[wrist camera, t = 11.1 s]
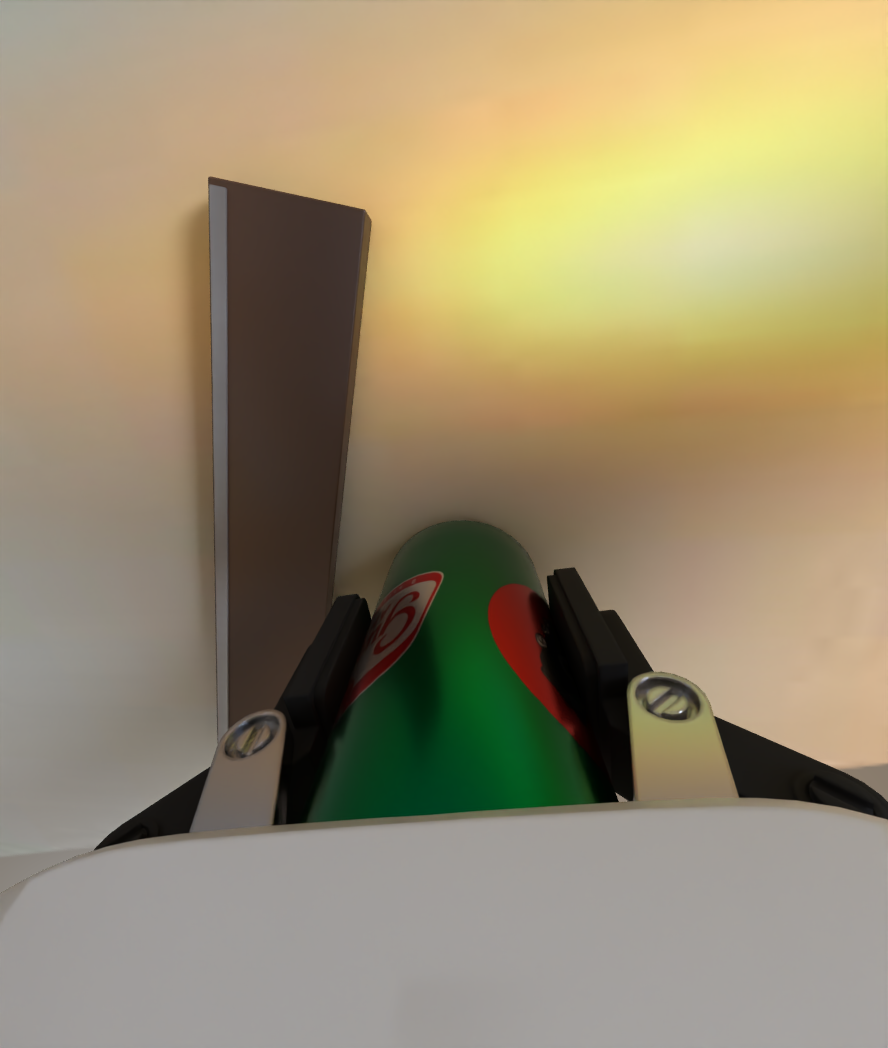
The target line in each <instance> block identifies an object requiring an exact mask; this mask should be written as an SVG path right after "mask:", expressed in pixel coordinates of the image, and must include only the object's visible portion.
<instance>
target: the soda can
mask: <svg viewBox="0 0 888 1048" xmlns="http://www.w3.org/2000/svg"><path fill="white" fill-rule="evenodd" d="M613 802H619V801H618V799H617V796H616V793H615V790H614V787H613V785H612V782H611V779H610V776H609V774H608V771H607V768H606V765H605V762H604V760H603V757H602V754H601V751H600V748H599V746H598V743H597V740H596V737H595V735H594V732H593V729H592V726H591V723H590V721H589V718H588V715H587V712H586V709H585V707H584V704H583V701H582V698H581V696H580V693H579V690H578V687H577V684H576V682H575V679H574V676H573V673H572V670H571V668H570V665H569V662H568V659H567V657H566V654H565V651H564V648H563V645H562V643H561V640H560V637H559V634H558V631H557V629H556V626H555V623H554V620H553V618H552V615H551V612H550V609H549V606H548V604H547V601H546V598H545V595H544V592H543V590H542V587H541V584H540V581H539V578H538V576H537V573H536V570H535V567H534V565H533V562H532V560H531V559H530V557H529V555H528V553H527V552H526V551H525V549H524V548H523V547H522V546H521V544H520V543H518V542H517V541H516V540H515V539H514V538H513V537H512V536H510V535H509V534H507V533H505V532H504V531H502V530H500V529H498V528H496V527H493V526H491V525H488V524H484V523H481V522H476V521H466V520H461V521H449V522H444V523H439V524H437V525H434V526H431V527H428V528H426V529H424V530H423V531H421V532H419V533H417V534H416V535H415V536H413V537H412V538H411V539H409V540H408V541H407V542H406V543H405V545H404V546H403V547H402V548H401V549H400V550H399V552H398V554H397V555H396V557H395V558H394V561H393V563H392V565H391V567H390V570H389V573H388V576H387V579H386V581H385V584H384V587H383V590H382V592H381V595H380V598H379V601H378V603H377V606H376V609H375V612H374V614H373V617H372V620H371V623H370V625H369V628H368V631H367V634H366V637H365V639H364V642H363V645H362V648H361V650H360V653H359V656H358V659H357V661H356V664H355V667H354V670H353V672H352V675H351V678H350V681H349V683H348V686H347V689H346V692H345V695H344V697H343V700H342V703H341V706H340V708H339V711H338V714H337V717H336V719H335V722H334V725H333V728H332V730H331V733H330V736H329V739H328V742H327V744H326V747H325V750H324V753H323V755H322V758H321V761H320V764H319V766H318V769H317V772H316V775H315V777H314V780H313V783H312V786H311V788H310V791H309V794H308V797H307V800H306V802H305V805H304V808H303V811H302V813H301V816H300V819H299V822H298V824H301V823H315V822H328V821H341V820H355V819H369V818H383V817H403V816H420V815H435V814H447V813H459V812H471V811H486V810H501V809H517V808H533V807H549V806H565V805H581V804H597V803H613Z"/></svg>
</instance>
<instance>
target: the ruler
mask: <svg viewBox="0 0 888 1048" xmlns="http://www.w3.org/2000/svg"><path fill="white" fill-rule="evenodd" d="M208 188H209V249H210V310H211V371H212V431H213V492H214V553H215V614H216V674H217V735H218V744H219V742H220V740H221V738H222V736H223V735H224V734H225V733H226V732H227V730H228V729H229V728H230V727H232V726H233V725H234V724H235V723H236V722H238V721H239V720H241V719H242V718H244V717H246V716H247V715H250V714H252V713H255V712H257V711H261V710H266V709H274V708H275V706H276V704H277V703H278V701H279V699H280V697H281V695H282V694H283V692H284V690H285V688H286V686H287V684H288V683H289V681H290V679H291V677H292V675H293V674H294V672H295V670H296V668H297V666H298V664H299V663H300V661H301V659H302V657H303V655H304V654H305V652H306V650H307V648H308V647H309V646H310V645H311V644H312V643H313V641H314V639H315V637H316V635H317V633H318V632H319V630H320V628H321V626H322V624H323V622H324V621H325V619H326V617H327V615H328V613H329V611H330V610H331V605H332V595H333V586H334V576H335V567H336V557H337V547H338V538H339V528H340V519H341V509H342V499H343V490H344V480H345V471H346V461H347V452H348V442H349V432H350V423H351V413H352V404H353V394H354V385H355V375H356V365H357V356H358V346H359V337H360V327H361V317H362V308H363V298H364V289H365V279H366V270H367V260H368V250H369V241H370V231H371V219H370V217H369V215H368V214H367V212H366V211H365V210H364V209H359V208H355V207H350V206H345V205H341V204H336V203H331V202H327V201H322V200H317V199H313V198H308V197H303V196H299V195H294V194H289V193H285V192H280V191H275V190H271V189H266V188H261V187H257V186H252V185H248V184H243V183H238V182H234V181H229V180H224V179H220V178H215V177H209V178H208Z"/></svg>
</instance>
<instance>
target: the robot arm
mask: <svg viewBox="0 0 888 1048" xmlns="http://www.w3.org/2000/svg"><path fill="white" fill-rule="evenodd" d="M547 583H548V596H549V608H550V612H551V615H552V618H553V620H554V623H555V626H556V629H557V631H558V634H559V637H560V640H561V643H562V645H563V648H564V651H565V654H566V657H567V659H568V662H569V665H570V668H571V670H572V673H573V676H574V679H575V682H576V684H577V687H578V690H579V693H580V696H581V698H582V701H583V704H584V707H585V709H586V712H587V715H588V718H589V721H590V723H591V726H592V729H593V732H594V735H595V737H596V740H597V743H598V746H599V748H600V751H601V754H602V757H603V760H604V762H605V765H606V768H607V771H608V774H609V776H610V779H611V782H612V785H613V787H614V790H615V792H616V793H617V794H619V795H621V796H622V797H624V798H625V799H627V800H628V802H613V803H597V804H581V805H565V806H549V807H533V808H517V809H501V810H486V811H471V812H459V813H447V814H435V815H420V816H403V817H383V818H369V819H355V820H341V821H328V822H315V823H301V824H298V822H299V819H300V816H301V813H302V811H303V808H304V805H305V802H306V800H307V797H308V794H309V791H310V788H311V786H312V783H313V780H314V777H315V775H316V772H317V769H318V766H319V764H320V761H321V758H322V755H323V753H324V750H325V747H326V744H327V742H328V739H329V736H330V733H331V730H332V728H333V725H334V722H335V719H336V717H337V714H338V711H339V708H340V706H341V703H342V700H343V697H344V695H345V692H346V689H347V686H348V683H349V681H350V678H351V675H352V672H353V670H354V667H355V664H356V661H357V659H358V656H359V653H360V650H361V648H362V645H363V642H364V639H365V637H366V634H367V631H368V628H369V625H370V623H371V616H370V612H369V608H368V605H367V601H366V599H365V598H360V597H359V595H358V594H353V595H345V596H338V597H337V599H336V600H335V602H334V604H333V606H332V608H331V610H330V611H329V613H328V615H327V617H326V619H325V621H324V622H323V624H322V626H321V628H320V630H319V632H318V633H317V635H316V637H315V639H314V641H313V643H312V644H311V645H310V646H309V647H308V648H307V650H306V652H305V654H304V655H303V657H302V659H301V661H300V663H299V664H298V666H297V668H296V670H295V672H294V674H293V675H292V677H291V679H290V681H289V683H288V684H287V686H286V688H285V690H284V692H283V694H282V695H281V697H280V699H279V701H278V703H277V704H276V706H275V708H274V709H266V710H261V711H257V712H255V713H252V714H250V715H247V716H246V717H244V718H242V719H241V720H239V721H238V722H236V723H235V724H234V725H233V726H232V727H230V728H229V729H228V730H227V732H226V733H225V734H224V735H223V736H222V738H221V740H220V742H219V744H218V746H217V749H216V752H215V755H214V758H213V761H212V764H211V767H209V768H208V769H206V770H204V771H203V772H201V773H200V774H198V775H197V776H195V777H194V778H192V779H191V780H189V781H188V782H186V783H185V784H183V785H182V786H180V787H179V788H177V789H176V790H174V791H172V792H171V793H169V794H168V795H166V796H165V797H163V798H162V799H160V800H159V801H157V802H156V803H154V804H153V805H151V806H150V807H148V808H147V809H145V810H144V811H142V812H141V813H139V814H137V815H136V816H134V817H133V818H131V819H130V820H128V821H127V822H125V823H124V824H122V825H121V826H120V827H118V828H117V829H116V830H114V831H113V832H112V833H110V834H109V835H108V836H107V837H106V838H105V839H104V840H103V841H102V842H101V843H100V844H99V845H98V846H97V847H96V848H95V849H94V851H91V852H88V853H85V854H82V855H78V856H75V857H73V858H71V859H68V860H66V861H63V862H61V863H59V864H57V865H54V866H52V867H49V868H47V869H45V870H42V871H41V872H38V873H36V874H34V875H32V876H31V877H29V878H27V879H25V880H23V881H21V882H19V883H17V884H15V885H14V886H12V887H10V888H9V889H7V890H5V891H4V892H2V893H0V1048H888V802H887V801H886V800H885V799H884V798H883V797H882V796H881V795H880V794H879V793H877V792H876V791H875V790H873V789H872V788H870V787H869V786H868V785H866V784H865V783H863V782H862V781H859V780H858V779H856V778H854V777H852V776H850V775H848V774H846V773H844V772H842V771H840V770H837V769H835V768H833V767H830V766H828V765H826V764H824V763H821V762H819V761H817V760H814V759H812V758H810V757H807V756H805V755H803V754H801V753H798V752H796V751H794V750H791V749H789V748H787V747H784V746H782V745H780V744H778V743H775V742H773V741H771V740H768V739H766V738H764V737H761V736H759V735H757V734H754V733H752V732H750V731H748V730H745V729H743V728H741V727H738V726H736V725H734V724H731V723H729V722H727V721H725V720H722V719H720V718H718V717H715V716H714V715H713V712H712V708H711V705H710V702H709V700H708V698H707V696H706V695H705V693H704V692H703V691H702V690H701V689H700V688H699V687H698V686H697V685H695V684H694V683H692V682H691V681H689V680H687V679H685V678H683V677H680V676H678V675H675V674H670V673H665V672H654V671H653V670H652V668H651V666H650V665H649V663H648V662H647V660H646V659H645V657H644V655H643V654H642V652H641V651H640V649H639V647H638V646H637V644H636V643H635V641H634V639H633V638H632V636H631V635H630V633H629V631H628V630H627V628H626V627H625V625H624V623H623V622H622V620H621V619H620V617H619V616H618V614H617V613H616V611H614V610H607V611H599V610H598V608H597V606H596V605H595V603H594V601H593V599H592V597H591V596H590V594H589V592H588V590H587V588H586V587H585V585H584V583H583V581H582V580H581V578H580V576H579V574H578V572H577V571H576V569H575V568H574V567H573V568H565V569H557V570H554V575H549V576H547Z"/></svg>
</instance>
